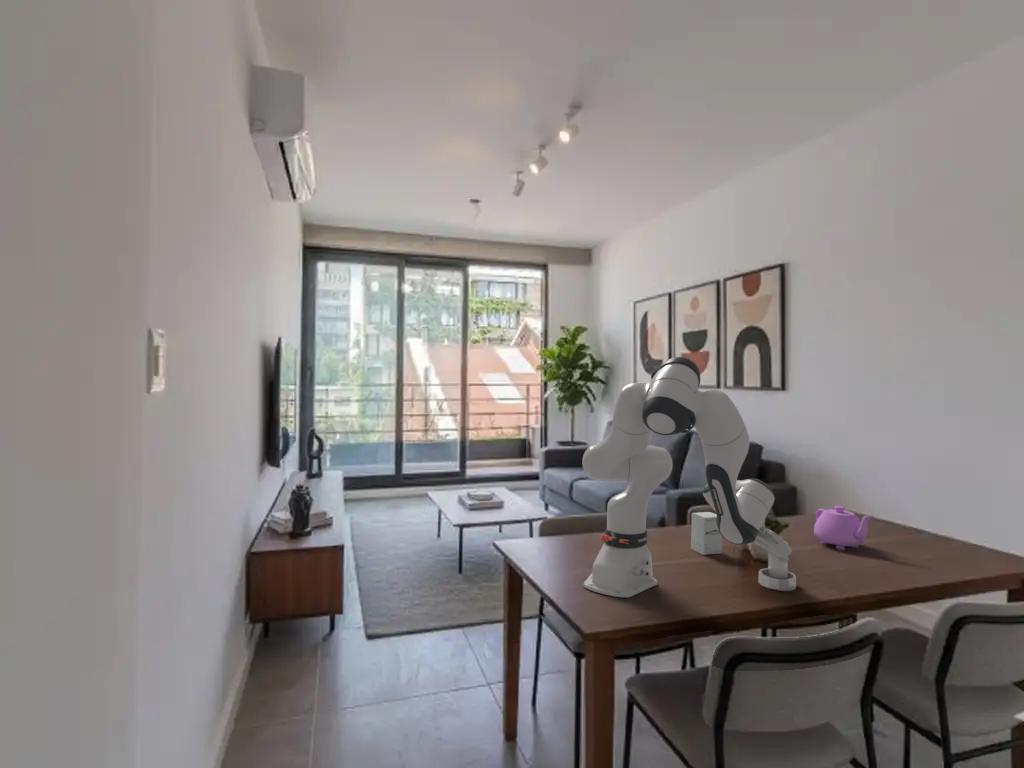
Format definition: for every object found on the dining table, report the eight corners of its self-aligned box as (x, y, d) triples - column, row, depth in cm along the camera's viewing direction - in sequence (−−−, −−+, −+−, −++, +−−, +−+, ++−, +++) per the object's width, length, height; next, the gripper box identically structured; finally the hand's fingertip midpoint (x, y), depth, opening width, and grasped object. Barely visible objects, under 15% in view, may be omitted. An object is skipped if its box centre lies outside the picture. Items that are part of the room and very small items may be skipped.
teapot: (887, 553, 186) (888, 512, 186) (854, 558, 181) (855, 516, 181) (829, 535, 207) (830, 499, 207) (798, 539, 201) (799, 502, 201)
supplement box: (703, 555, 182) (703, 517, 182) (690, 548, 189) (690, 512, 189) (722, 554, 184) (723, 516, 184) (709, 547, 191) (709, 511, 191)
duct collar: (792, 593, 150) (793, 582, 150) (755, 585, 155) (756, 575, 155) (797, 583, 158) (798, 572, 158) (762, 576, 163) (762, 566, 163)
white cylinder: (785, 581, 153) (786, 545, 153) (766, 577, 156) (766, 542, 155) (788, 576, 157) (789, 541, 157) (769, 572, 160) (770, 538, 160)
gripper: (776, 524, 145) (810, 560, 146) (737, 506, 165) (767, 538, 166) (760, 541, 145) (794, 577, 146) (722, 521, 165) (753, 553, 166)
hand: (779, 556), depth 156 cm, fingers closed on white cylinder, 5 cm apart
